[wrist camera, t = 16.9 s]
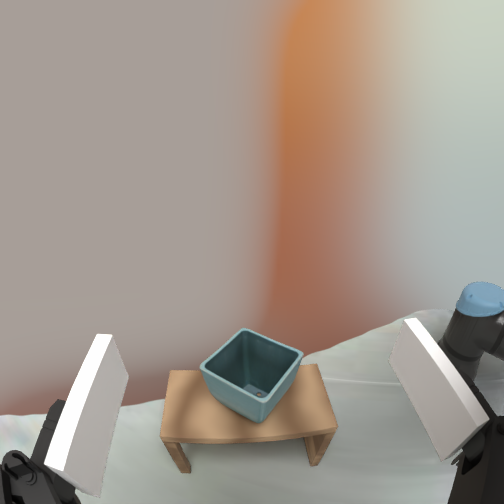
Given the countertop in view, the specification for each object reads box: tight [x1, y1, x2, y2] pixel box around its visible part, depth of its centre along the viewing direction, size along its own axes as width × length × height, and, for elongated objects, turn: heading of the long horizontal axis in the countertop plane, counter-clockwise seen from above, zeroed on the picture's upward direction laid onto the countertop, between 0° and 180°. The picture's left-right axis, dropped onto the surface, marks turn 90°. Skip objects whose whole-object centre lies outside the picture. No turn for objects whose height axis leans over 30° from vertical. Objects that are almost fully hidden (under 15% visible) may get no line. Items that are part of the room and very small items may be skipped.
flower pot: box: [200, 328, 303, 423], centre depth 32 cm, size 9×9×9 cm
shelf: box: [160, 364, 338, 473], centre depth 37 cm, size 22×12×14 cm, turn 95°
